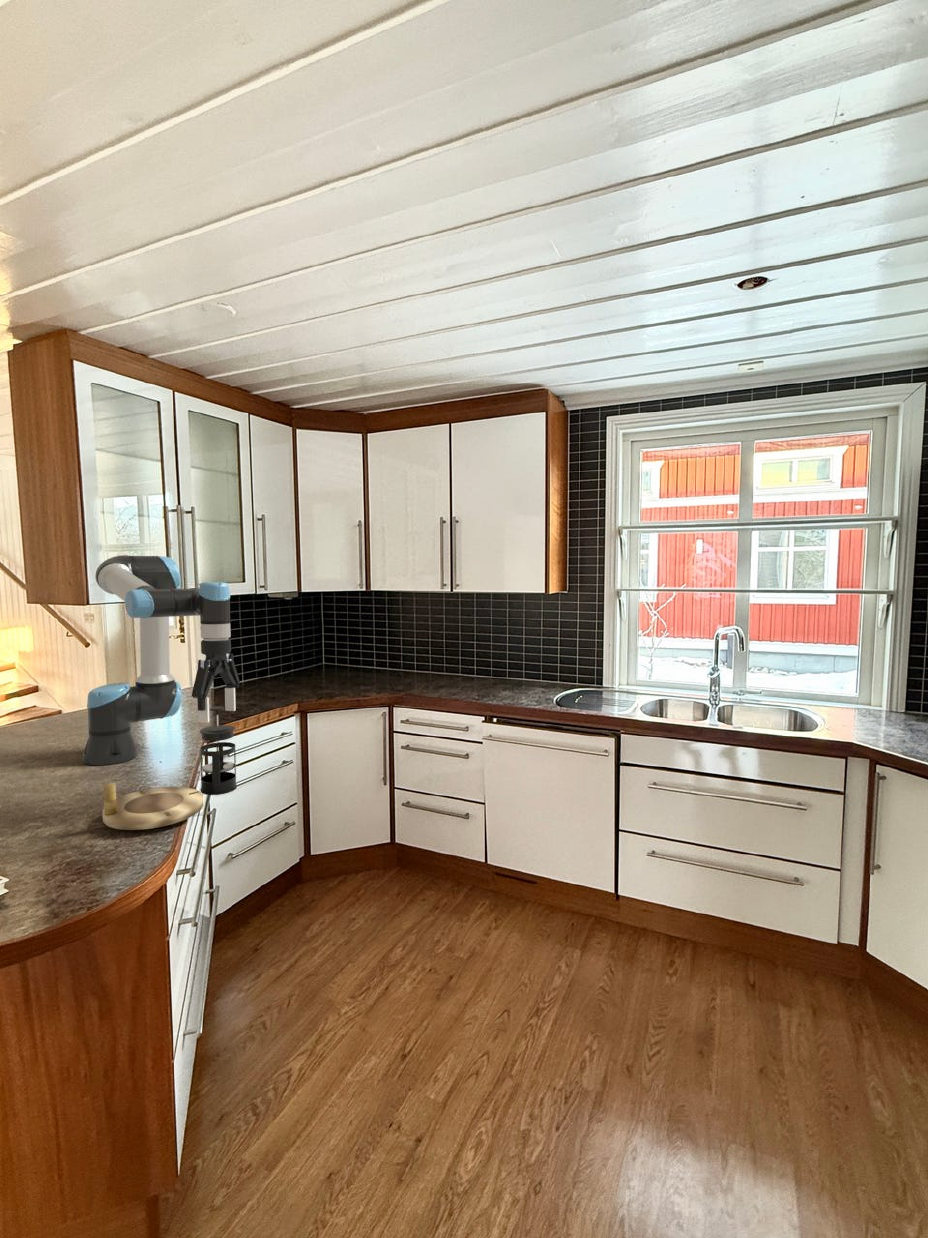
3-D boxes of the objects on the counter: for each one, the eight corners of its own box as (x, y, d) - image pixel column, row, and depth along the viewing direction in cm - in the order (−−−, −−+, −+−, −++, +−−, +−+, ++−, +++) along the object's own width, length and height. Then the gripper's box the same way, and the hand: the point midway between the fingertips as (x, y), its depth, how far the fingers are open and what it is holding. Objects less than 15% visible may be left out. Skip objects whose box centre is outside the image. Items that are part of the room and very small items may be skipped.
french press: (203, 783, 170) (201, 704, 168) (238, 780, 173) (237, 702, 171) (197, 799, 159) (195, 713, 157) (235, 795, 161) (233, 711, 160)
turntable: (184, 787, 163) (183, 755, 162) (217, 811, 147) (216, 776, 147) (92, 809, 148) (90, 774, 147) (117, 838, 132) (116, 799, 131)
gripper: (226, 634, 175) (228, 705, 177) (175, 644, 150) (177, 727, 152) (250, 634, 174) (252, 706, 176) (203, 644, 149) (205, 728, 151)
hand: (217, 716), depth 164 cm, fingers open, 13 cm apart
